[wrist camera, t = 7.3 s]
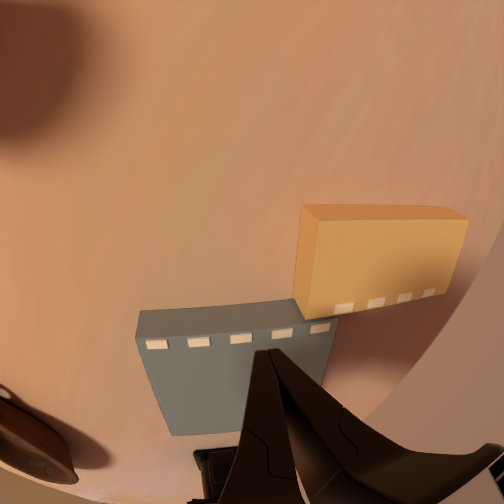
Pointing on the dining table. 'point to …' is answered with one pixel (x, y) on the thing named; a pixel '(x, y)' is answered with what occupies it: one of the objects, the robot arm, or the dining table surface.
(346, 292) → the stub
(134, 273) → the dining table surface
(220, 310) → the grey flat block
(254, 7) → the dining table surface
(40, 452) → the dish
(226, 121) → the dining table surface
